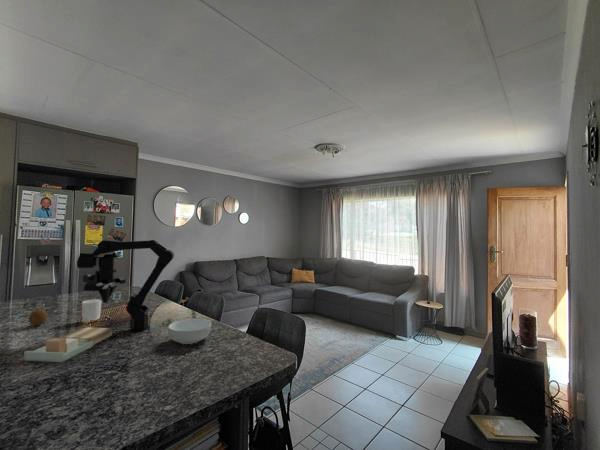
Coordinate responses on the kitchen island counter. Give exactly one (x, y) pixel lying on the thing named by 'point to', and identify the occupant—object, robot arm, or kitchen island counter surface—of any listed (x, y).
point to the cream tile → (71, 344)
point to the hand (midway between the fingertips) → (105, 302)
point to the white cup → (91, 309)
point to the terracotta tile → (56, 345)
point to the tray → (56, 353)
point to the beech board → (90, 334)
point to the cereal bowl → (189, 330)
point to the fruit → (37, 317)
